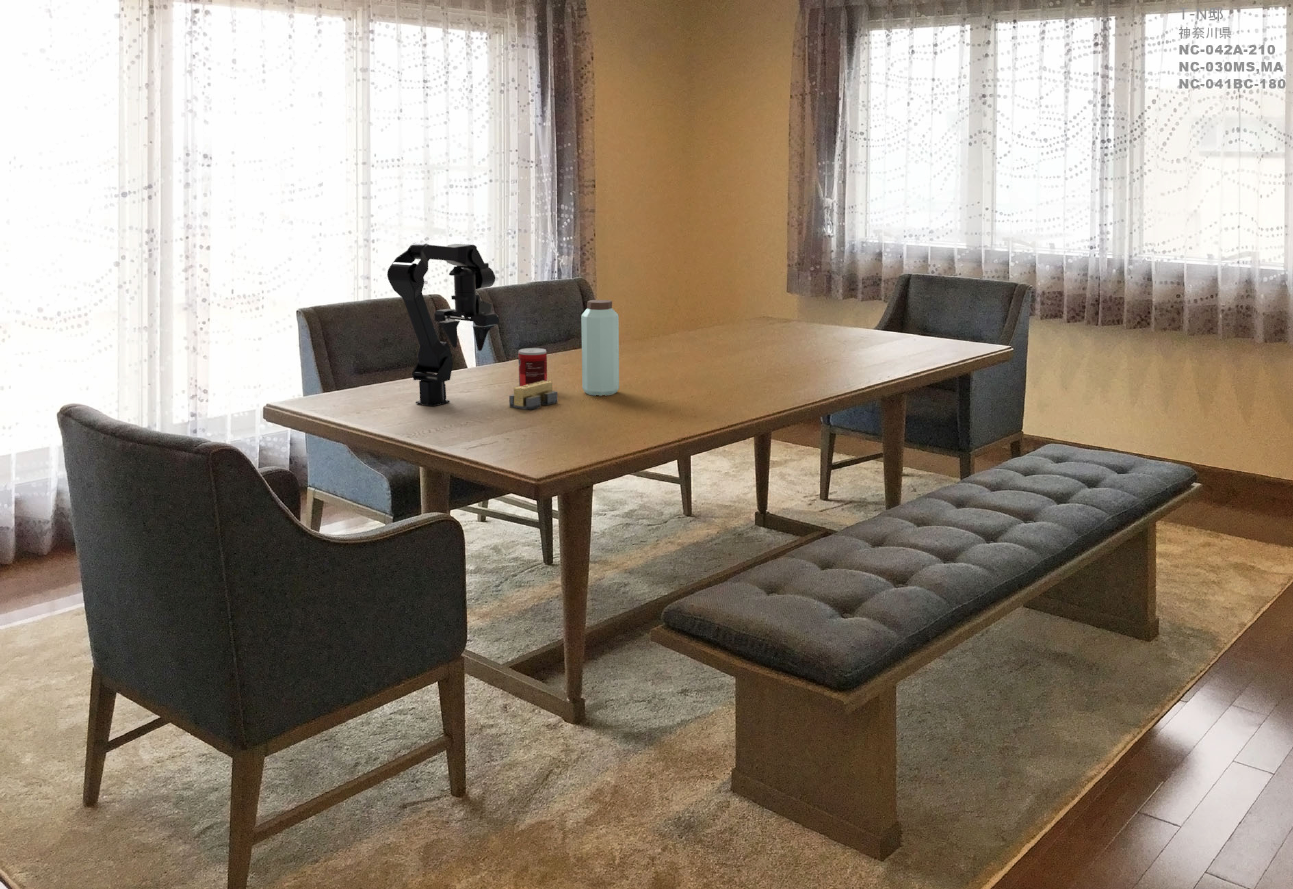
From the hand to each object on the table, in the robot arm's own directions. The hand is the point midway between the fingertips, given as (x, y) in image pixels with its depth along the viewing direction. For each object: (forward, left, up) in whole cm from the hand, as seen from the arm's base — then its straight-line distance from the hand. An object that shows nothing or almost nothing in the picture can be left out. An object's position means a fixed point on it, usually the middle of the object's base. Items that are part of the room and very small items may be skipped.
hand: (467, 349), depth 337 cm
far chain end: (+1, -25, -12) cm, 28 cm away
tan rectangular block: (-2, -25, -11) cm, 27 cm away
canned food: (+13, -12, -12) cm, 21 cm away
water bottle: (+20, -30, -12) cm, 38 cm away
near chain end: (-6, -25, -12) cm, 28 cm away
